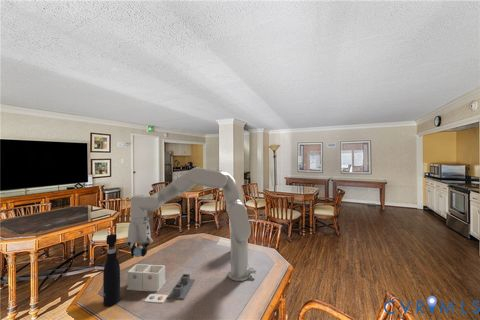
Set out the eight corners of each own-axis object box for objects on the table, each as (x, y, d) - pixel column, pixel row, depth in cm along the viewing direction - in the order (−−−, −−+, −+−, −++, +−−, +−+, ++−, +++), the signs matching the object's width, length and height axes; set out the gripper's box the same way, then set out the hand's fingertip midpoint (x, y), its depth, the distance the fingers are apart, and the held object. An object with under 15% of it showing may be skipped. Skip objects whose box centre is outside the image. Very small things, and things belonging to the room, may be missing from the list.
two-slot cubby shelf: (166, 281, 108) (166, 265, 108) (158, 291, 99) (157, 273, 99) (136, 279, 109) (136, 263, 109) (126, 289, 101) (126, 272, 101)
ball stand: (194, 280, 108) (194, 273, 108) (183, 299, 93) (183, 291, 93) (180, 279, 109) (180, 272, 109) (167, 298, 94) (167, 290, 94)
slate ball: (146, 254, 107) (146, 244, 107) (140, 259, 102) (140, 249, 102) (137, 254, 108) (137, 244, 108) (131, 258, 103) (131, 248, 103)
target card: (168, 295, 96) (168, 294, 96) (163, 302, 91) (163, 301, 91) (150, 294, 97) (150, 293, 97) (144, 301, 92) (144, 300, 92)
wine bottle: (123, 296, 96) (122, 232, 96) (115, 306, 89) (114, 237, 89) (109, 297, 95) (108, 233, 96) (100, 307, 89) (99, 238, 89)
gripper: (158, 218, 108) (158, 252, 108) (128, 217, 110) (128, 251, 109) (150, 222, 100) (150, 259, 100) (118, 221, 102) (118, 257, 102)
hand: (138, 254), depth 105 cm, fingers closed on slate ball, 4 cm apart
